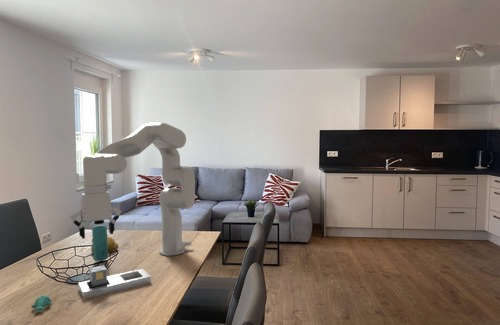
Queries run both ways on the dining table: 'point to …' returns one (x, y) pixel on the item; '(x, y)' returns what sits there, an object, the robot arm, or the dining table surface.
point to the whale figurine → (41, 303)
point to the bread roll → (109, 245)
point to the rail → (115, 283)
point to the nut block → (98, 276)
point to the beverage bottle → (100, 241)
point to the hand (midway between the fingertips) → (97, 235)
